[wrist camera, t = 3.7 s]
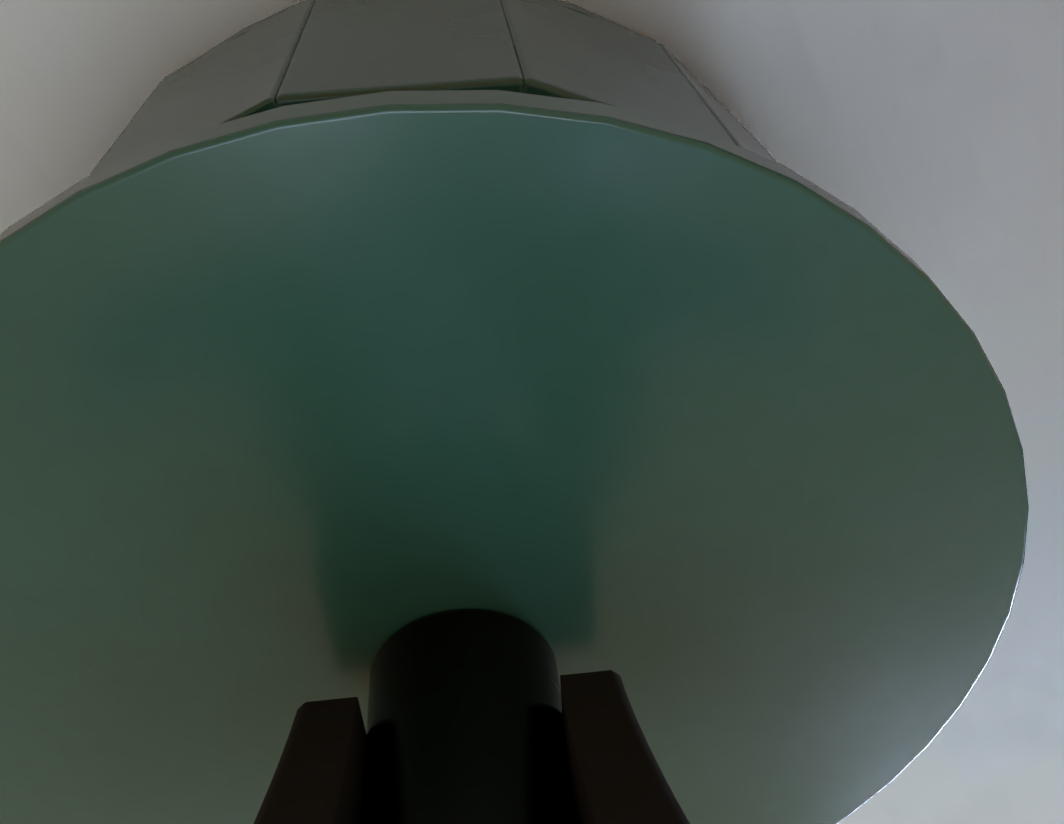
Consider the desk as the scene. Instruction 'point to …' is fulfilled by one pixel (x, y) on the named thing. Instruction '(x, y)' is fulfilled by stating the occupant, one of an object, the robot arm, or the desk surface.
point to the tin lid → (483, 469)
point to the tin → (425, 65)
